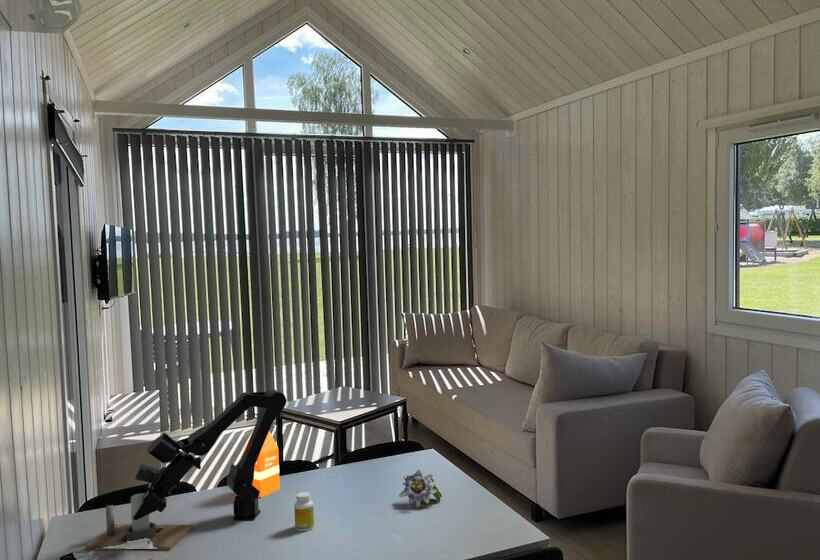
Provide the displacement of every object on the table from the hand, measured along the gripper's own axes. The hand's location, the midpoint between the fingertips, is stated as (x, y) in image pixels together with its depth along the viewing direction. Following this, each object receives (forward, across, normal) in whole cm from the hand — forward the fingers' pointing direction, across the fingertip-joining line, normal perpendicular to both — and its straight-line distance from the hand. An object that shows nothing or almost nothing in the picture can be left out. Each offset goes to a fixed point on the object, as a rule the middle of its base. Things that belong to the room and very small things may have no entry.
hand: (134, 516), depth 178 cm
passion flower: (-54, +7, +64) cm, 84 cm away
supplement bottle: (-27, +12, +37) cm, 48 cm away
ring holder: (+4, 0, +6) cm, 7 cm away
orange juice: (-22, -23, +31) cm, 44 cm away
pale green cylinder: (+4, 0, +6) cm, 7 cm away
